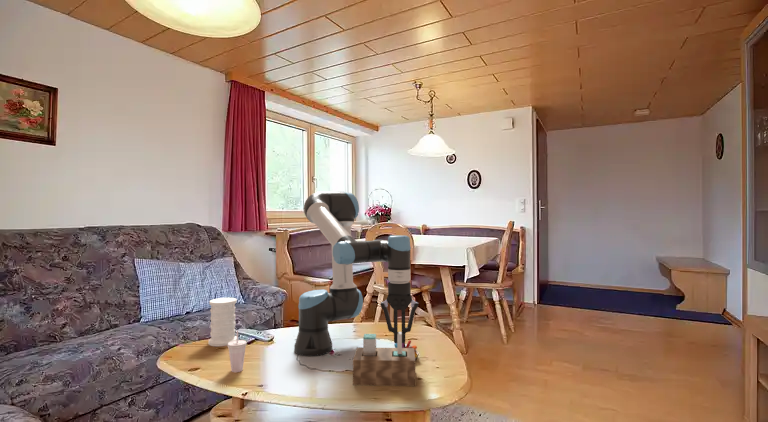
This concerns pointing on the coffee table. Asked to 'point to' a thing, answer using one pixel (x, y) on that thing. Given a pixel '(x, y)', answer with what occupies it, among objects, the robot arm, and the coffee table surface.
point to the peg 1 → (369, 345)
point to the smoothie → (237, 354)
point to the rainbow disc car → (408, 347)
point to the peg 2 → (399, 354)
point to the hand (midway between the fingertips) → (399, 352)
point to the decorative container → (222, 321)
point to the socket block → (384, 368)
